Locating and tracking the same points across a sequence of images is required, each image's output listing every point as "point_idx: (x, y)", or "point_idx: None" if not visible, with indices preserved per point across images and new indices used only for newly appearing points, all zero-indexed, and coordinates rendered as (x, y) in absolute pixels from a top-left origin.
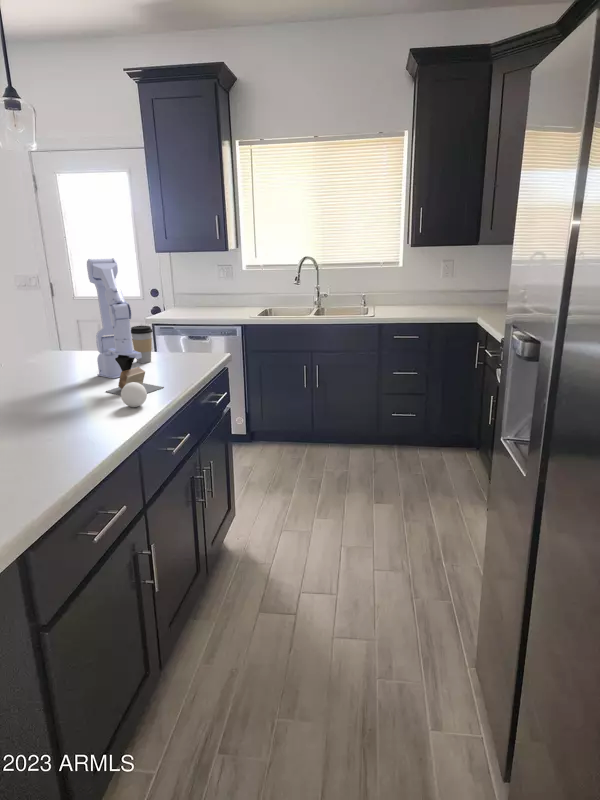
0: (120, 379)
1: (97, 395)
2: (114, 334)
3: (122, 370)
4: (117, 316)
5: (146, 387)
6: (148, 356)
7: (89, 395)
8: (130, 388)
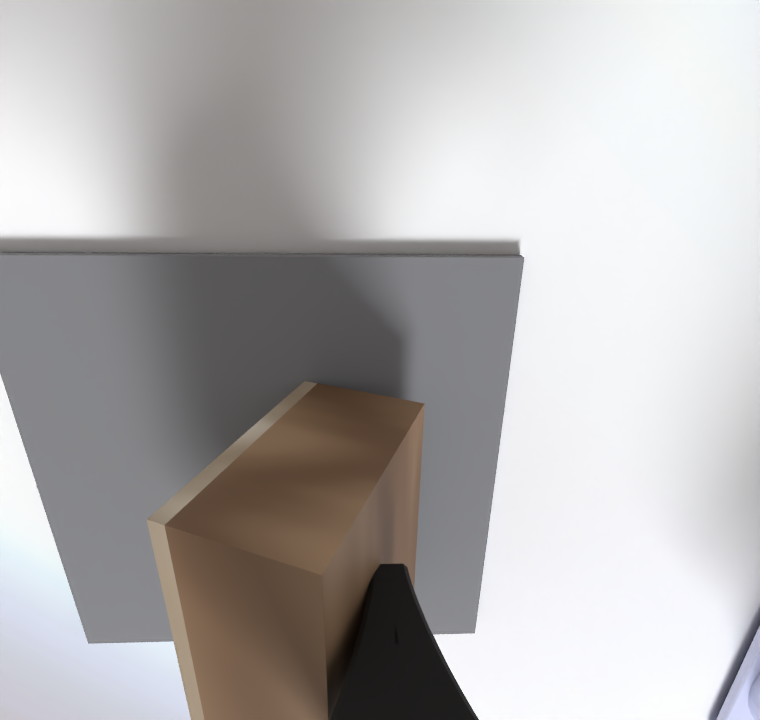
0: (366, 466)
1: (514, 80)
2: None
3: (410, 647)
4: None
5: None
6: None
7: (629, 11)
8: None
